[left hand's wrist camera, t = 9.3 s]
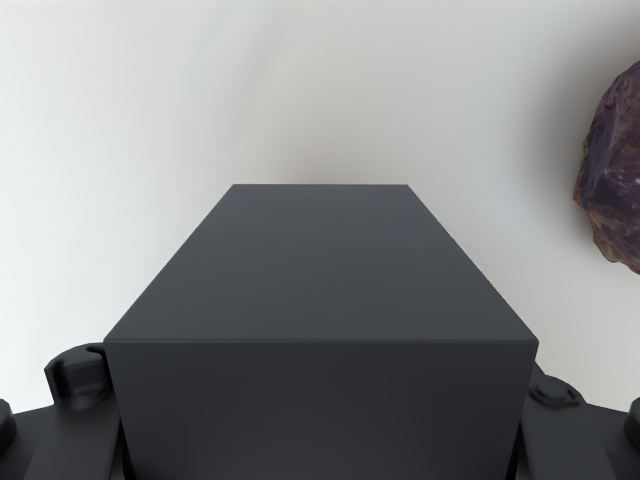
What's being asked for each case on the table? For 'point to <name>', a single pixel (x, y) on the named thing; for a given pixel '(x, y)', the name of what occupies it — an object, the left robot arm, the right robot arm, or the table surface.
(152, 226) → the table surface
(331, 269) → the box
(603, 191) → the rock
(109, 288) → the table surface
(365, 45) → the table surface
